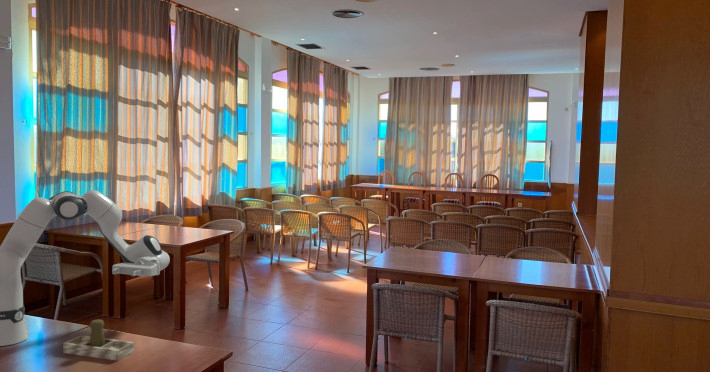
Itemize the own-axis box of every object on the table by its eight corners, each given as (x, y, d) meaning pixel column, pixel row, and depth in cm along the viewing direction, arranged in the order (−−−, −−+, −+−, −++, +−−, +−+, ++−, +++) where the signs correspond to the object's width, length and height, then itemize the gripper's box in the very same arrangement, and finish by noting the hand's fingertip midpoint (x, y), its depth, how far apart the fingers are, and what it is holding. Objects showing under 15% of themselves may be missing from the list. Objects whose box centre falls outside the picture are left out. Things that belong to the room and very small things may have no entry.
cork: (99, 350, 201) (98, 323, 201) (85, 349, 202) (85, 322, 201) (108, 344, 207) (108, 318, 206) (95, 343, 208) (95, 317, 207)
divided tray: (63, 352, 204) (63, 343, 203) (81, 344, 212) (80, 335, 212) (118, 360, 197) (118, 350, 197) (134, 351, 206) (134, 342, 206)
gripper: (124, 258, 237) (102, 264, 224) (162, 261, 232) (142, 267, 219) (124, 271, 238) (103, 278, 225) (162, 274, 233) (142, 282, 219)
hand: (122, 273), depth 222 cm, fingers open, 8 cm apart
